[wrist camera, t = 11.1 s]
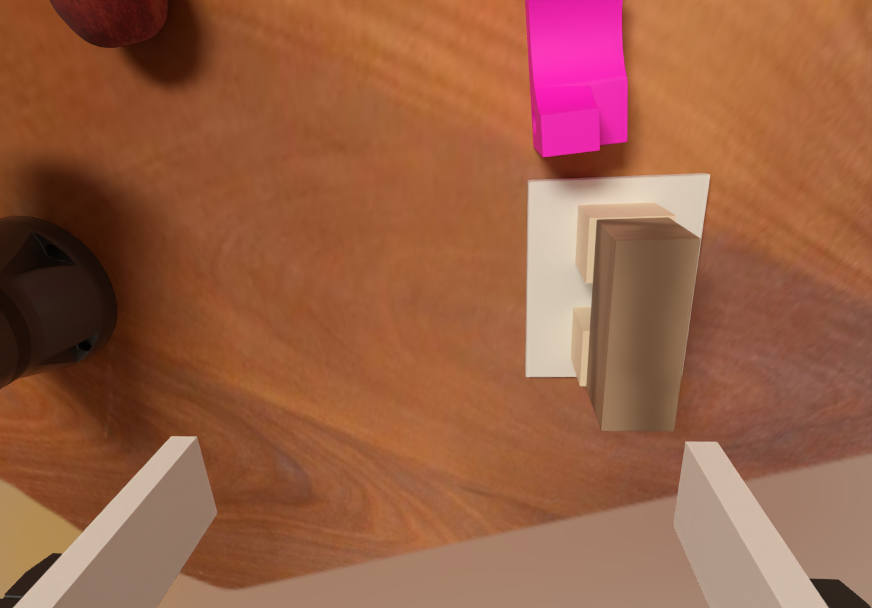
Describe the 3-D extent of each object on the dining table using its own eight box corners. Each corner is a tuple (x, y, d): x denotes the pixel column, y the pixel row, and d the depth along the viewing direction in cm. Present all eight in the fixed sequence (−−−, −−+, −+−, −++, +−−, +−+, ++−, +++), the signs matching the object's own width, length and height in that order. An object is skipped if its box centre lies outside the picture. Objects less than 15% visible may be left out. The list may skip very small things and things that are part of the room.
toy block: (612, 137, 41) (638, 145, 34) (533, 147, 42) (542, 157, 35) (611, -89, 36) (642, -133, 29) (520, -73, 37) (528, -112, 30)
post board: (525, 371, 49) (530, 406, 44) (527, 180, 43) (534, 192, 37) (678, 371, 48) (703, 407, 42) (705, 172, 41) (739, 185, 36)
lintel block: (586, 387, 43) (601, 430, 37) (596, 219, 37) (616, 241, 32) (649, 387, 42) (673, 431, 37) (668, 217, 37) (700, 238, 31)
